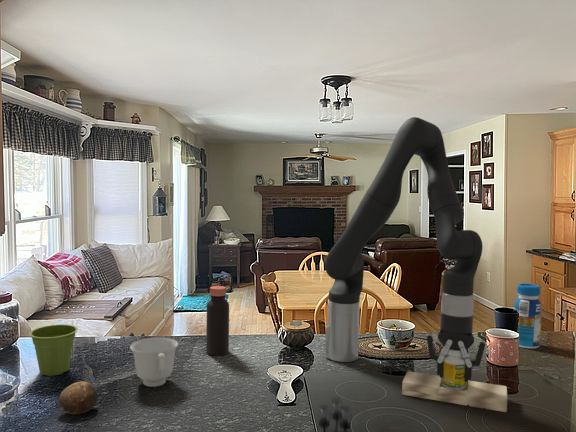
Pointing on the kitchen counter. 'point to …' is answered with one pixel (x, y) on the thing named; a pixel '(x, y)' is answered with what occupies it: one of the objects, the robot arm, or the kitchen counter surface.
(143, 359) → the teacup
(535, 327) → the beverage bottle
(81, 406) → the brown potato
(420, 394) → the wooden plank
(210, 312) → the vinegar
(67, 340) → the plant pot
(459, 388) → the supplement bottle
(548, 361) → the kitchen counter surface
